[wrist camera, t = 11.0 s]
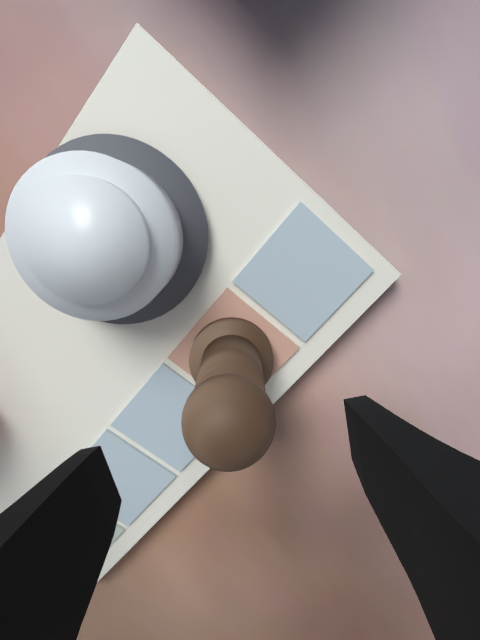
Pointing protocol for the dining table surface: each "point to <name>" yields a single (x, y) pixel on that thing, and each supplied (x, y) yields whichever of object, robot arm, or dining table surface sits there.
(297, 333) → the game board
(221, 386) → the pawn
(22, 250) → the dome
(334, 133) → the dining table surface
